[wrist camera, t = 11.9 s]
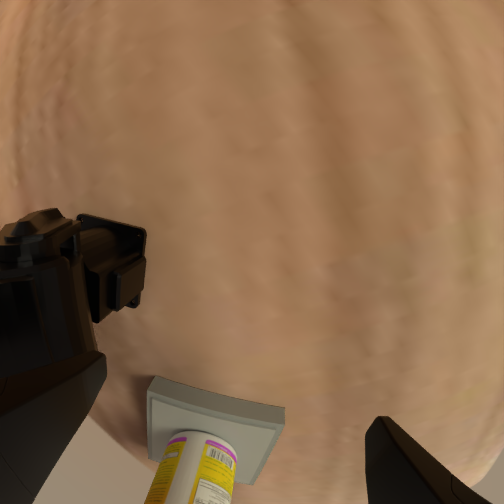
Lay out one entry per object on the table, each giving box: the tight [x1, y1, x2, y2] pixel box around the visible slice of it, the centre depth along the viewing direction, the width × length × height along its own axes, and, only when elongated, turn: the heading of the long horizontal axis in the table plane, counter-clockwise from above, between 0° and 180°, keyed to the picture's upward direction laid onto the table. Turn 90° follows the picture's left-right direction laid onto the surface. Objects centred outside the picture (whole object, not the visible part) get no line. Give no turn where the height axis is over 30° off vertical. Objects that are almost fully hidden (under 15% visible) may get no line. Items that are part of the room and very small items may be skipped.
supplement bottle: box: [144, 431, 237, 504], centre depth 16 cm, size 7×7×13 cm
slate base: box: [147, 376, 285, 485], centre depth 24 cm, size 12×12×2 cm
